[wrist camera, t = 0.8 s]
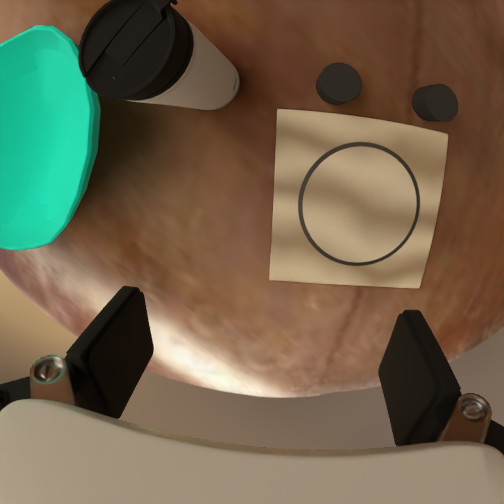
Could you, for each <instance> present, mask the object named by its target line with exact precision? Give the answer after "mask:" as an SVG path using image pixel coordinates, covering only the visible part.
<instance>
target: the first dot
mask: <svg viewBox="0 0 504 504" xmlns="http://www.w3.org/2000/svg"><path fill="white" fill-rule="evenodd" d="M316 89H317V92H318V94H319V96H320V97H321V98H322V99H323V100H324V101H326V102H327V103H330V104H334V105H338V104H343V103H345V102H348V101H351V100H353V99H354V98H356V97H357V96H358V94H359V93H360V90H361V79H360V76H359V74H358V73H357V71H356V70H355V69H354V68H352V67H351V66H349V65H347V64H344V63H333V64H330V65H328V66H327V67H326V68H324V70H323V71H322V73H321V74H320V76H319V77H318V79H317V82H316Z"/></svg>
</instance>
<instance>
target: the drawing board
mask: <svg viewBox="0 0 504 504" xmlns="http://www.w3.org/2000/svg"><path fill="white" fill-rule="evenodd" d="M447 145H448V134H446V133H442V132H438V131H434V130H429V129H425V128H421V127H416V126H411V125H406V124H401V123H396V122H390V121H385V120H379V119H373V118H366V117H359V116H352V115H344V114H336V113H326V112H316V111H304V110H289V109H277V128H276V154H275V177H274V199H273V219H272V239H271V257H270V274H269V280H278V281H292V282H307V283H323V284H340V285H358V286H378V287H399V288H419V287H420V284H421V280H422V277H423V273H424V270H425V266H426V262H427V258H428V255H429V250H430V246H431V242H432V238H433V233H434V229H435V224H436V219H437V214H438V209H439V203H440V198H441V191H442V185H443V178H444V171H445V163H446V154H447Z"/></svg>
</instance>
